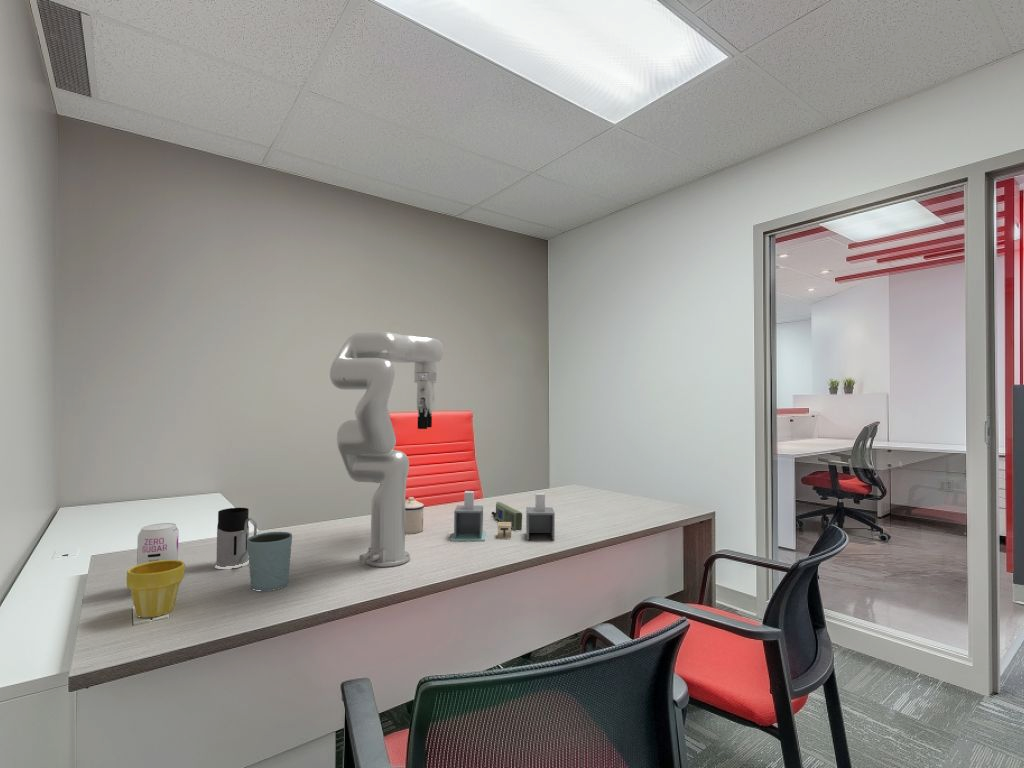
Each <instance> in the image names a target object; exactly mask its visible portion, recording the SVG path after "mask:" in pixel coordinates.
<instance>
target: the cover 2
mask: <svg viewBox="0 0 1024 768" xmlns="http://www.w3.org/2000/svg"><path fill="white" fill-rule="evenodd" d="M534 503H535V507H533V506H532V507H530V506H529V507H528V506H527V507H526V510H525V511H526V512H525V514H526V517H525V518H526V519H525V521H526V522H525V523H526V525H525V528H526V529H525V533H526V535H527V536H526V541H527V540H529V541H530V534H529V533H551V534H550V536H552V537H551V540H552V539H553V540H554V541H555V528H556V527H555V510H554V509H553V507H552V506H551V507H547V506H546V493H545V492H535V502H534ZM553 540H552V541H553Z"/></svg>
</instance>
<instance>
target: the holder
mask: <svg viewBox="0 0 1024 768" xmlns="http://www.w3.org/2000/svg"><path fill="white" fill-rule="evenodd" d="M249 511H250V509H249V508H247V507H230V508H224V509H220V510H218V512H217V514H218V515H217V528H216V530H217V531H216V559H215V564H216V565H217V566H220V567H226V566H235V565H239V564H243V563H245V562H247V561H248V560H249V556H248V546H247V539H248V538H249V537H250V526H249V522H250V521H252V523H253V535H252V536H254V535H258V533H257V531H258V524H257V521H256V519H255V518H254V517H249Z"/></svg>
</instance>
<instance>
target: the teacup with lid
mask: <svg viewBox="0 0 1024 768" xmlns="http://www.w3.org/2000/svg"><path fill="white" fill-rule="evenodd" d="M424 505H425V504H424V503H422V502H419V501H417V500H416V499H415V497H414V496H409V497H408V498H407V500H405V535H410V534H411V535H414V534H417V533H418V534H419V533H421V532H423V531H424V508H425V506H424Z"/></svg>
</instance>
